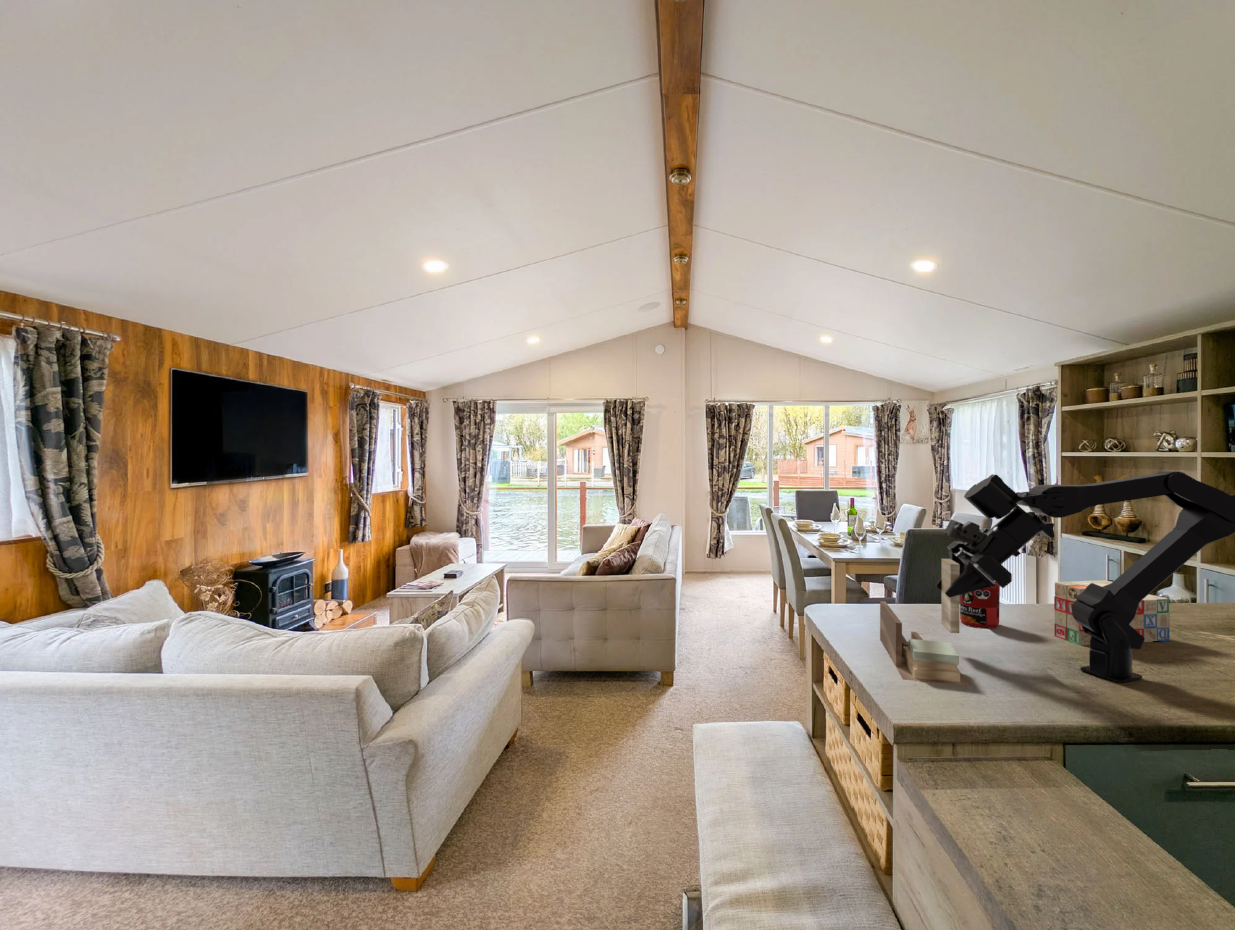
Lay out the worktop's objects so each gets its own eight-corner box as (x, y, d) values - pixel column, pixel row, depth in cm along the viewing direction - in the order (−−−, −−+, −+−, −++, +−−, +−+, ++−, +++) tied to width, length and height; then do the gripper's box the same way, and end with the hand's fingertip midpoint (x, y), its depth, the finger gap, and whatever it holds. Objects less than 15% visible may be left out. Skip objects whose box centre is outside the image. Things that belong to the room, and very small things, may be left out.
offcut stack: (948, 665, 104) (948, 640, 104) (963, 682, 96) (963, 656, 96) (901, 661, 106) (901, 637, 106) (912, 678, 98) (912, 652, 98)
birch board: (949, 624, 113) (950, 558, 113) (959, 633, 107) (959, 564, 107) (941, 623, 113) (941, 558, 113) (950, 632, 108) (950, 564, 107)
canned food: (952, 621, 137) (952, 575, 137) (977, 618, 140) (977, 573, 140) (981, 630, 130) (981, 582, 130) (1007, 627, 132) (1007, 579, 132)
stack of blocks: (1140, 633, 128) (1141, 578, 128) (1170, 642, 122) (1170, 584, 122) (1053, 636, 126) (1053, 581, 126) (1079, 646, 120) (1079, 587, 119)
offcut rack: (935, 650, 116) (936, 604, 116) (971, 694, 95) (972, 637, 95) (880, 646, 119) (880, 601, 119) (902, 687, 98) (903, 632, 98)
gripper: (958, 502, 118) (899, 553, 121) (991, 510, 100) (921, 570, 103) (1001, 541, 116) (941, 592, 119) (1043, 557, 98) (970, 616, 101)
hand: (942, 591), depth 111 cm, fingers closed on birch board, 6 cm apart
